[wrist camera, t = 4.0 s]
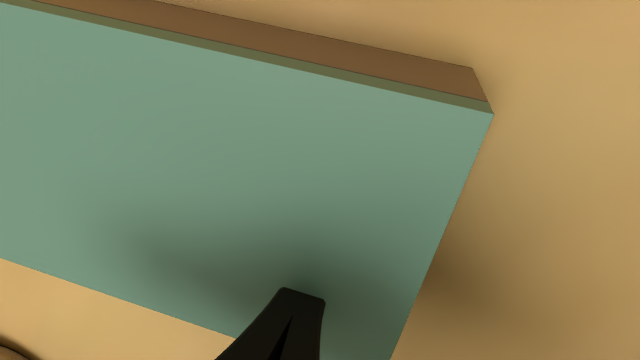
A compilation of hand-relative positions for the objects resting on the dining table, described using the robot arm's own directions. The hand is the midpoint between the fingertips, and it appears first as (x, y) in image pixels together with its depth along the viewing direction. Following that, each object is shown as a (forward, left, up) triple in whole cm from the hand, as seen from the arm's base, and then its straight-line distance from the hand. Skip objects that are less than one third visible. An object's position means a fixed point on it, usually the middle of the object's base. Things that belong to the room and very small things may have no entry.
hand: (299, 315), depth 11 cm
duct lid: (+5, -2, -1) cm, 5 cm away
